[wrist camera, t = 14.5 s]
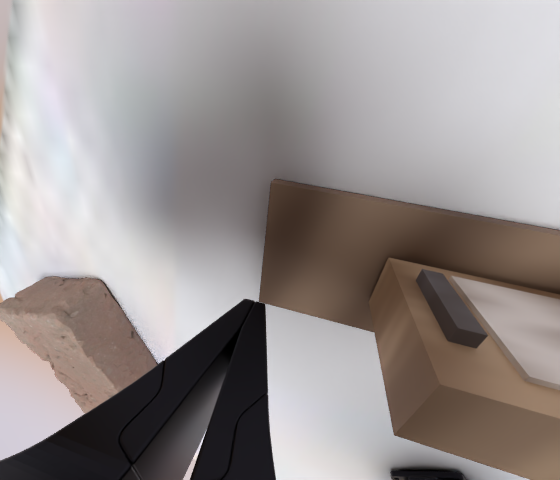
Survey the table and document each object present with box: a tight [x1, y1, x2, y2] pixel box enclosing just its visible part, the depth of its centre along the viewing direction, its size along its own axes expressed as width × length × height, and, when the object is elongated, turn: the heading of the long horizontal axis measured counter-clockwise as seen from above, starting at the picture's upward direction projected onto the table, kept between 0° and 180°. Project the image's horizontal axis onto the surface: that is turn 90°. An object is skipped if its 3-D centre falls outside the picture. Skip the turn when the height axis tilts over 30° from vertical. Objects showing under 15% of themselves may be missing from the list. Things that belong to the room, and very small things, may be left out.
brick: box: [0, 276, 158, 414], centre depth 21 cm, size 17×8×5 cm, turn 10°
